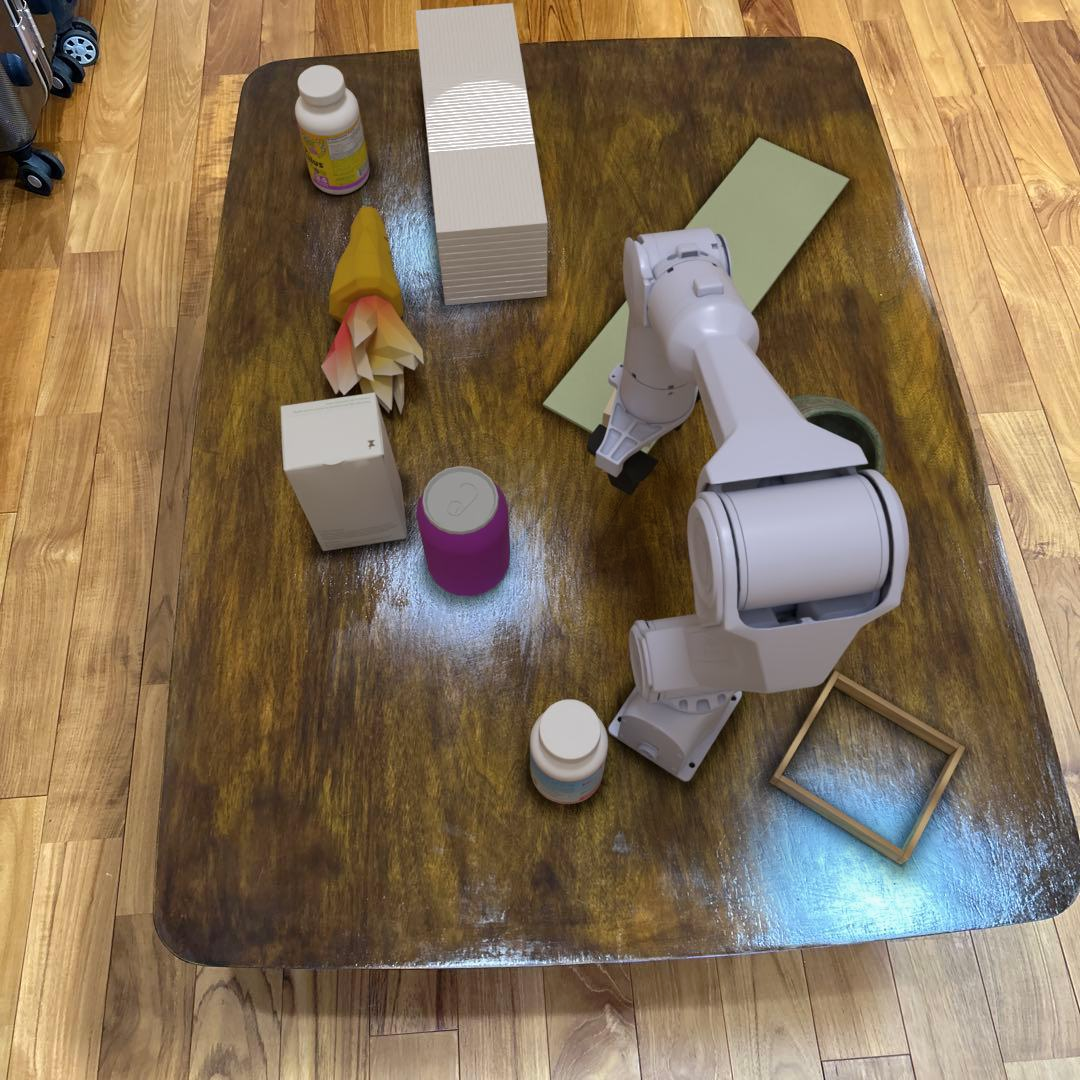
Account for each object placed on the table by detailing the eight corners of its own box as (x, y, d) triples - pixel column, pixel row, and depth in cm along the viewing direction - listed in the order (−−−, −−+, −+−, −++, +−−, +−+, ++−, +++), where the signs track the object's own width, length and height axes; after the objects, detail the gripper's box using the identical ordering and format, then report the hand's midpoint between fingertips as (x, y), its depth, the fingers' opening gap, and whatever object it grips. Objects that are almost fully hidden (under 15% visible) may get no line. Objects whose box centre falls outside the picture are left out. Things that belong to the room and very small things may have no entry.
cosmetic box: (402, 482, 102) (380, 387, 89) (409, 544, 99) (388, 455, 86) (313, 494, 102) (278, 401, 88) (318, 556, 99) (282, 469, 85)
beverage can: (481, 615, 96) (474, 556, 86) (410, 575, 98) (394, 512, 87) (526, 549, 99) (525, 484, 88) (457, 511, 101) (447, 443, 90)
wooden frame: (900, 865, 86) (908, 860, 85) (768, 782, 89) (773, 776, 88) (957, 753, 90) (965, 747, 89) (829, 678, 94) (835, 670, 92)
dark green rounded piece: (781, 598, 97) (806, 548, 88) (687, 474, 103) (701, 416, 94) (911, 523, 100) (947, 467, 92) (813, 407, 106) (838, 345, 97)
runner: (641, 462, 103) (642, 459, 103) (542, 406, 106) (542, 403, 106) (848, 182, 120) (849, 178, 120) (757, 140, 123) (758, 137, 123)
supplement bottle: (303, 165, 121) (278, 68, 110) (358, 147, 122) (339, 49, 111) (323, 205, 118) (300, 110, 107) (379, 186, 120) (362, 91, 108)
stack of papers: (546, 296, 113) (547, 222, 103) (445, 305, 112) (436, 232, 102) (514, 84, 127) (512, 2, 117) (424, 92, 127) (415, 10, 117)
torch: (385, 261, 120) (395, 432, 105) (315, 240, 116) (316, 414, 102) (412, 204, 114) (427, 377, 100) (340, 180, 110) (345, 356, 96)
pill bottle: (596, 812, 88) (603, 776, 78) (523, 797, 89) (521, 760, 79) (609, 741, 91) (617, 698, 81) (538, 727, 92) (538, 683, 81)
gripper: (666, 271, 83) (650, 375, 95) (563, 400, 78) (560, 493, 90) (746, 312, 82) (719, 412, 94) (646, 446, 76) (631, 535, 88)
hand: (646, 454), depth 92 cm, fingers open, 7 cm apart
